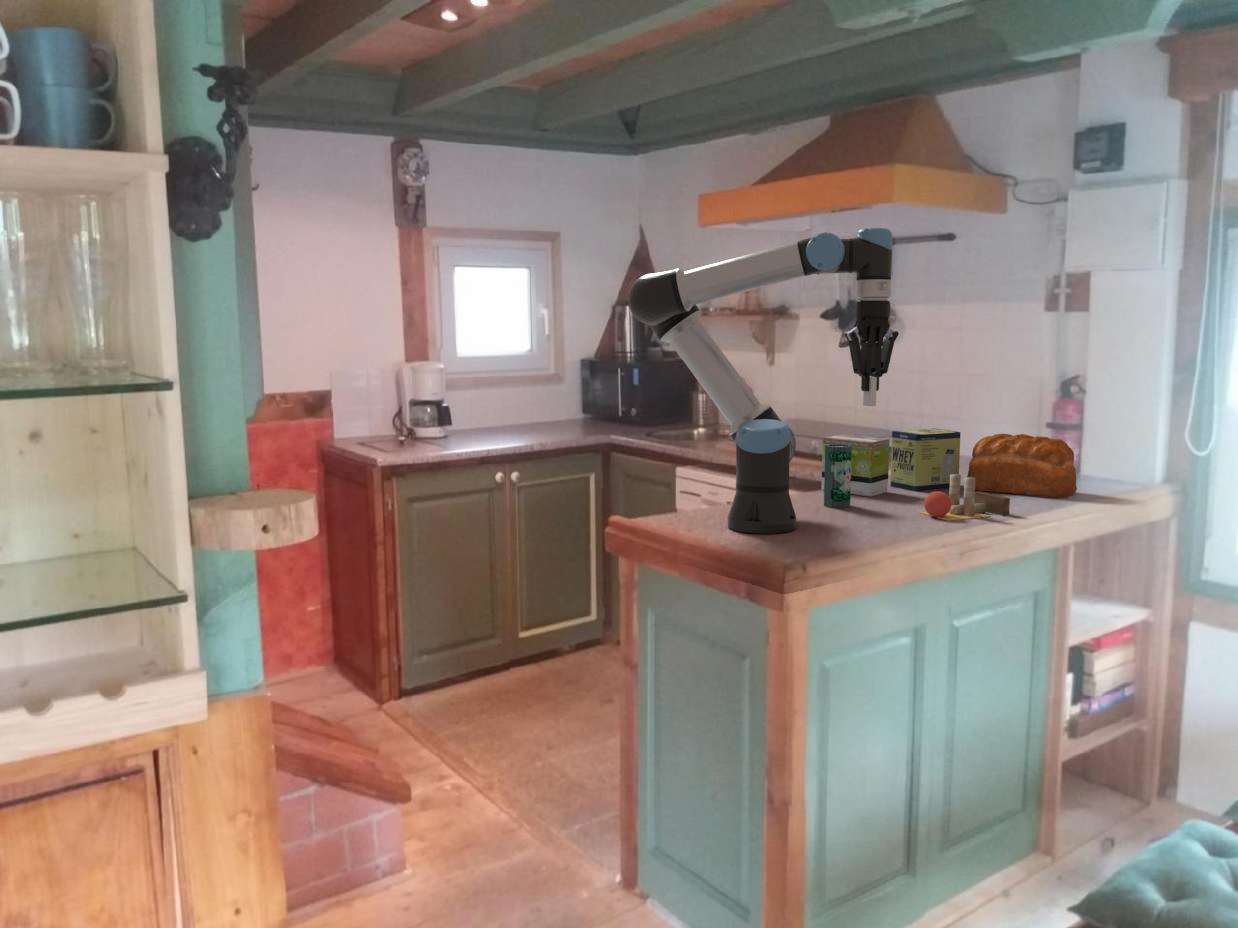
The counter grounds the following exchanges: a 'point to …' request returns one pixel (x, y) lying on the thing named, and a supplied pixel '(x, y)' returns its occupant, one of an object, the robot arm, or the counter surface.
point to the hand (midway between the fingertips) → (869, 405)
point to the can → (837, 475)
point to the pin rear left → (955, 489)
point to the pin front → (959, 509)
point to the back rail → (993, 503)
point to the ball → (937, 504)
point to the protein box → (924, 458)
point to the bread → (1023, 466)
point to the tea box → (864, 463)
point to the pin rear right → (969, 496)
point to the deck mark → (958, 516)
